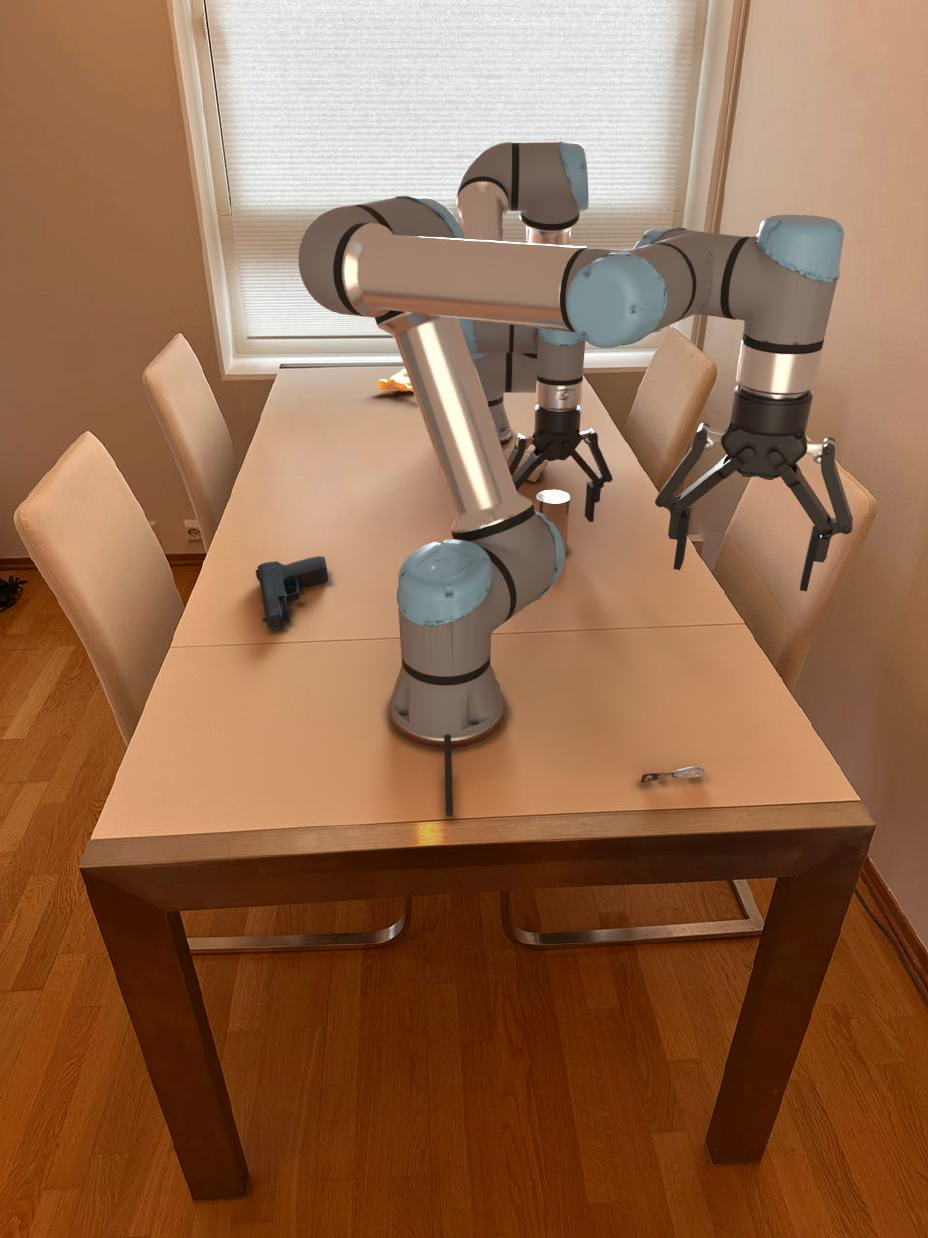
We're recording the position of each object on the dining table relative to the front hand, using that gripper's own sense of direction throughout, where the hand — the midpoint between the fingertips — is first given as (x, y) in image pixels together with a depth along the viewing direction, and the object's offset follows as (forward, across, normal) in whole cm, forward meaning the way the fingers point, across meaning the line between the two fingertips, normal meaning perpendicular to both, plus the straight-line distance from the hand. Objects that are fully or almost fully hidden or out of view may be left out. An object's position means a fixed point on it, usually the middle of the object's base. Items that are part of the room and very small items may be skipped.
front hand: (739, 574), depth 100 cm
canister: (+26, +34, -47) cm, 63 cm away
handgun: (+26, +69, -15) cm, 75 cm away
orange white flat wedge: (+26, +93, -125) cm, 158 cm away
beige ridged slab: (+26, +51, -80) cm, 98 cm away
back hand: (+20, +34, -46) cm, 61 cm away
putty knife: (+26, +3, +7) cm, 27 cm away
